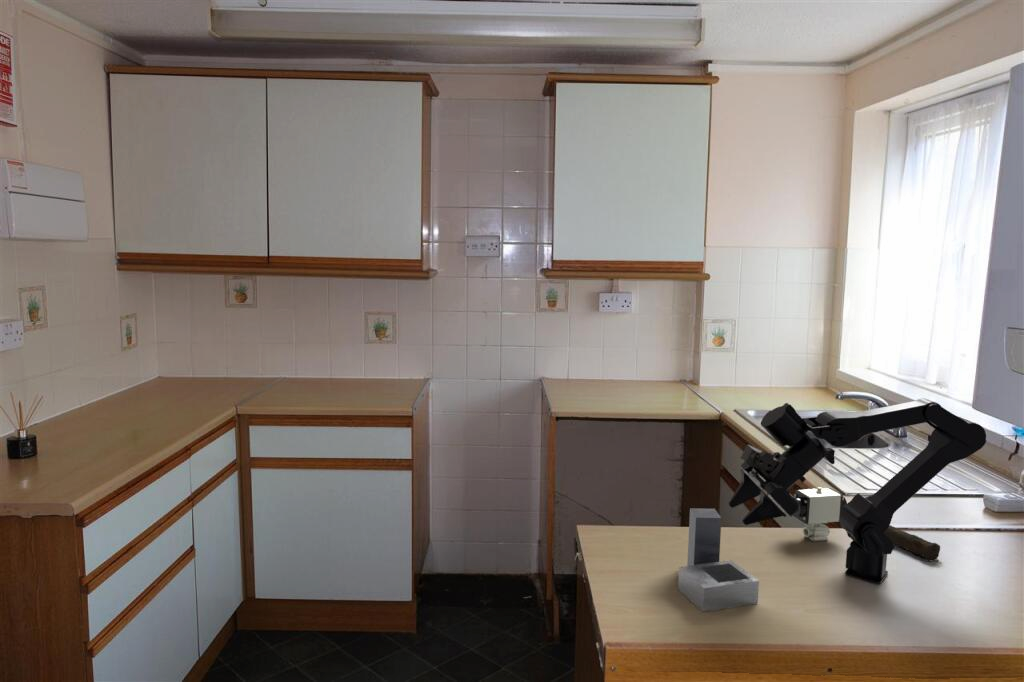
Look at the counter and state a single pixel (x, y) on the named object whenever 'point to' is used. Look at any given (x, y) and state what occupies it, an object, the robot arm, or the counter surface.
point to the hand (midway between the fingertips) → (736, 514)
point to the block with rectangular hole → (718, 585)
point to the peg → (704, 536)
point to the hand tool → (913, 543)
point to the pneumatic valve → (818, 510)
